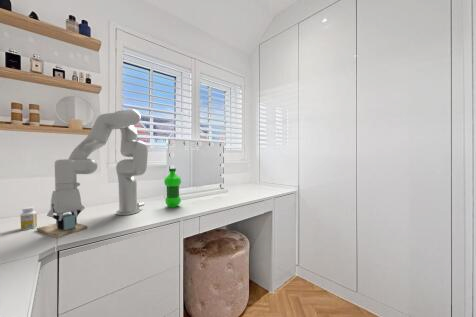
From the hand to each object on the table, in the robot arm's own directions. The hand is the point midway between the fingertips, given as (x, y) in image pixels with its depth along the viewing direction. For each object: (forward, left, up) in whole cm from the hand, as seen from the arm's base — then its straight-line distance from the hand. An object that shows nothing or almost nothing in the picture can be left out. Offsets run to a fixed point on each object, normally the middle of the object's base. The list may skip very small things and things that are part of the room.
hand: (67, 226), depth 94 cm
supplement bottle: (+6, -23, -2) cm, 24 cm away
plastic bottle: (-54, +10, -2) cm, 55 cm away
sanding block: (0, -1, -1) cm, 1 cm away
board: (0, -5, -2) cm, 6 cm away
